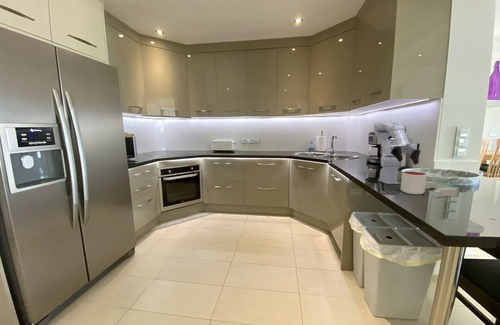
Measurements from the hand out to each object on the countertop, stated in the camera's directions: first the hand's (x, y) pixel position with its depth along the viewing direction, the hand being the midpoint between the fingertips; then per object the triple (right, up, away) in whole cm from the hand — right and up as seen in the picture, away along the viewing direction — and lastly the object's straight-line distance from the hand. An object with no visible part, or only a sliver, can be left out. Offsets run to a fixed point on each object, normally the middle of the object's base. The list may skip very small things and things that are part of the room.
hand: (408, 162), depth 107 cm
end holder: (+17, -15, +4) cm, 23 cm away
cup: (+5, -16, +4) cm, 17 cm away
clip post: (+11, -17, -4) cm, 20 cm away
